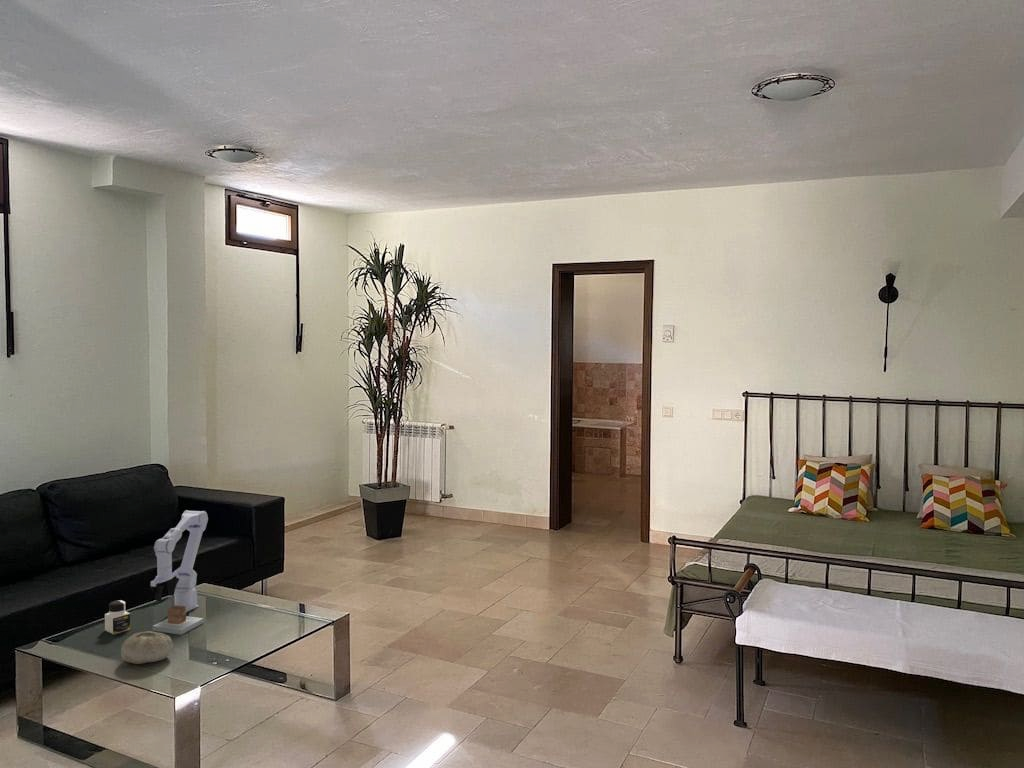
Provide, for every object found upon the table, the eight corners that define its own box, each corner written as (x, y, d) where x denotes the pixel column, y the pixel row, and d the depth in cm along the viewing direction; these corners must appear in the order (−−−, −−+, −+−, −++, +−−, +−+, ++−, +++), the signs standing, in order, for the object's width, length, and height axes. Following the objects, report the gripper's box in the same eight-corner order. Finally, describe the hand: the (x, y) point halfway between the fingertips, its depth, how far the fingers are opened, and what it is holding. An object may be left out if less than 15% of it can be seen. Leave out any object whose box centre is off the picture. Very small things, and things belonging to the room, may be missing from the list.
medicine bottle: (113, 634, 322) (112, 605, 321) (104, 630, 326) (104, 602, 326) (130, 629, 328) (130, 601, 327) (121, 625, 332) (121, 597, 331)
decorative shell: (168, 647, 310) (168, 622, 309) (177, 663, 295) (176, 637, 294) (118, 657, 300) (117, 631, 300) (124, 674, 285) (123, 647, 285)
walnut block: (175, 619, 335) (175, 605, 334) (186, 620, 334) (185, 606, 333) (167, 623, 330) (167, 609, 329) (178, 624, 329) (178, 610, 328)
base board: (175, 619, 340) (175, 614, 340) (203, 622, 337) (203, 618, 336) (152, 630, 327) (152, 625, 327) (181, 634, 323) (181, 629, 323)
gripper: (168, 561, 345) (168, 591, 346) (144, 570, 331) (144, 602, 332) (182, 562, 343) (182, 593, 344) (158, 572, 329) (158, 604, 330)
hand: (164, 598), depth 338 cm, fingers open, 7 cm apart
